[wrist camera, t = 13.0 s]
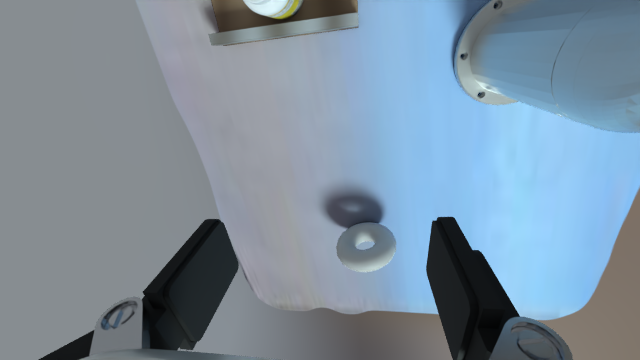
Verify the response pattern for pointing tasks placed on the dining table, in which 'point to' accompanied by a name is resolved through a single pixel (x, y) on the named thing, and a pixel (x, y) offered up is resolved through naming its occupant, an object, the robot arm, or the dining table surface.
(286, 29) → the track
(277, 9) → the supplement bottle
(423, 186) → the dining table surface
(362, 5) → the dining table surface
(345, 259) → the donut
